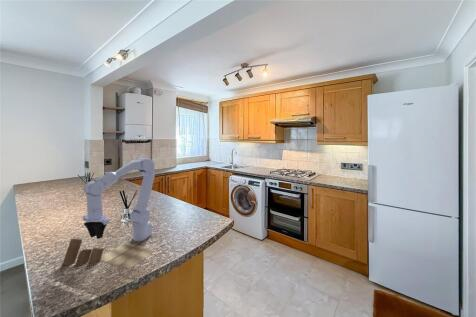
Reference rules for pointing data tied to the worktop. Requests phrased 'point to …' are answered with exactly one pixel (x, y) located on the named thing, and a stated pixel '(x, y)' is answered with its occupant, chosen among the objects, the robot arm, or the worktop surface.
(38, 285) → the worktop surface
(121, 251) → the oak plank
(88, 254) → the wooden block set
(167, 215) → the worktop surface
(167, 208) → the worktop surface
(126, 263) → the floor panel
